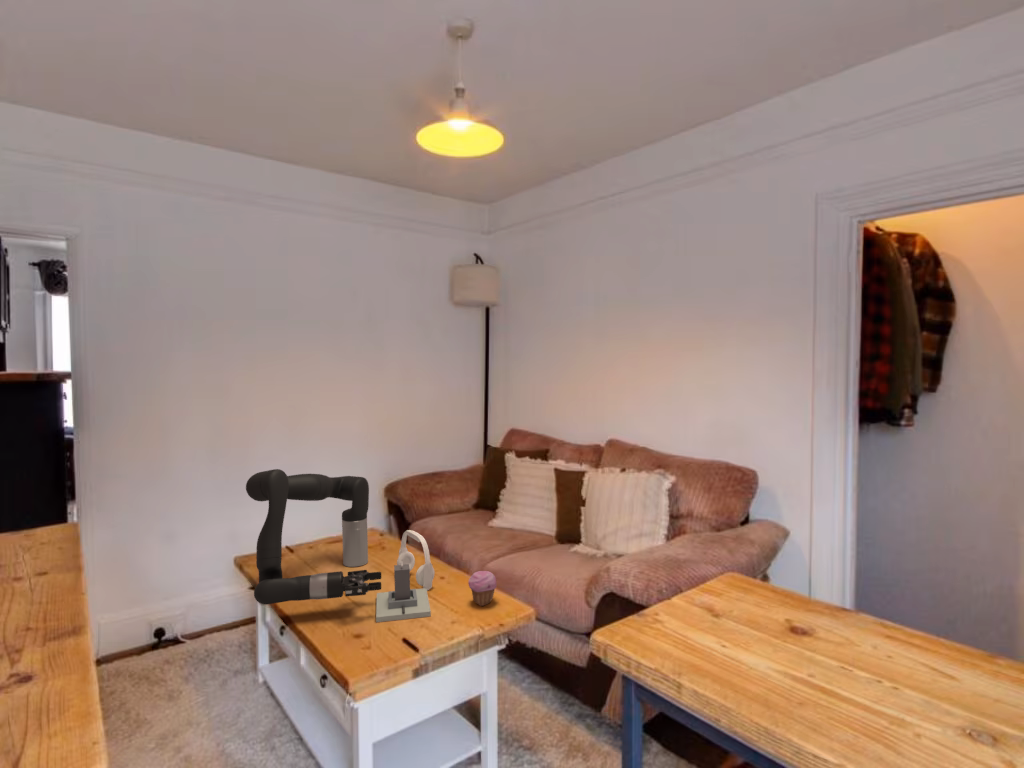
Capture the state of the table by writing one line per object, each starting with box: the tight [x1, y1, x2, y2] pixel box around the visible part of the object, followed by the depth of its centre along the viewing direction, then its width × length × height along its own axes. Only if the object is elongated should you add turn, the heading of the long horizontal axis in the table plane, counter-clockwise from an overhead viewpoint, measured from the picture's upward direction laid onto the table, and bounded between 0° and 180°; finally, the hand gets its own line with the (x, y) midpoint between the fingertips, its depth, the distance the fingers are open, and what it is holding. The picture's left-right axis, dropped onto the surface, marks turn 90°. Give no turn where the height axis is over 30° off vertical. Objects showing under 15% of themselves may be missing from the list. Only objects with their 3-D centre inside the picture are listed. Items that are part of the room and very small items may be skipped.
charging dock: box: [375, 587, 432, 623], centre depth 178 cm, size 18×16×4 cm
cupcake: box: [468, 570, 497, 607], centre depth 180 cm, size 9×9×10 cm
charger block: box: [393, 561, 411, 601], centre depth 178 cm, size 5×5×12 cm
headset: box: [396, 529, 435, 591], centre depth 197 cm, size 20×7×18 cm, turn 36°
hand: (381, 580), depth 177 cm, fingers open, 8 cm apart
